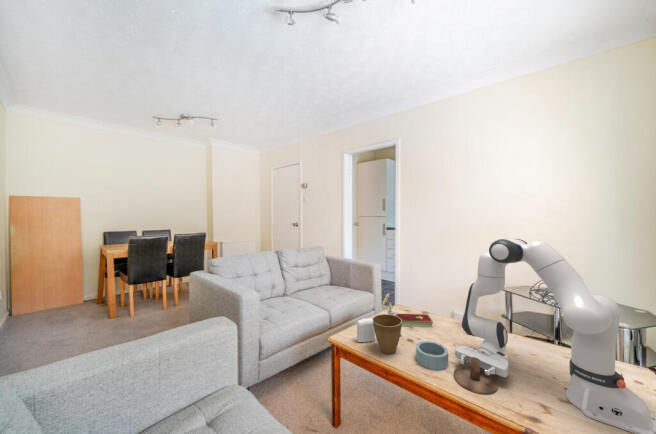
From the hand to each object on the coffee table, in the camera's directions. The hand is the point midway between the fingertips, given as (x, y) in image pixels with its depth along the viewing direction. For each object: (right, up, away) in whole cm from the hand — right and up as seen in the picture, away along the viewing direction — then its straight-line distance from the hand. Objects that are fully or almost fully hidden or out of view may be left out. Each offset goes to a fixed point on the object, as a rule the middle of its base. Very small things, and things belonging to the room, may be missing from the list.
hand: (473, 367), depth 105 cm
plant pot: (-30, -6, +26) cm, 40 cm away
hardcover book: (-6, -6, +57) cm, 58 cm away
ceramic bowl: (-11, -6, +15) cm, 20 cm away
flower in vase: (-24, -6, +42) cm, 49 cm away
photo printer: (-40, -7, +36) cm, 54 cm away
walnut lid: (+1, -6, +1) cm, 6 cm away
